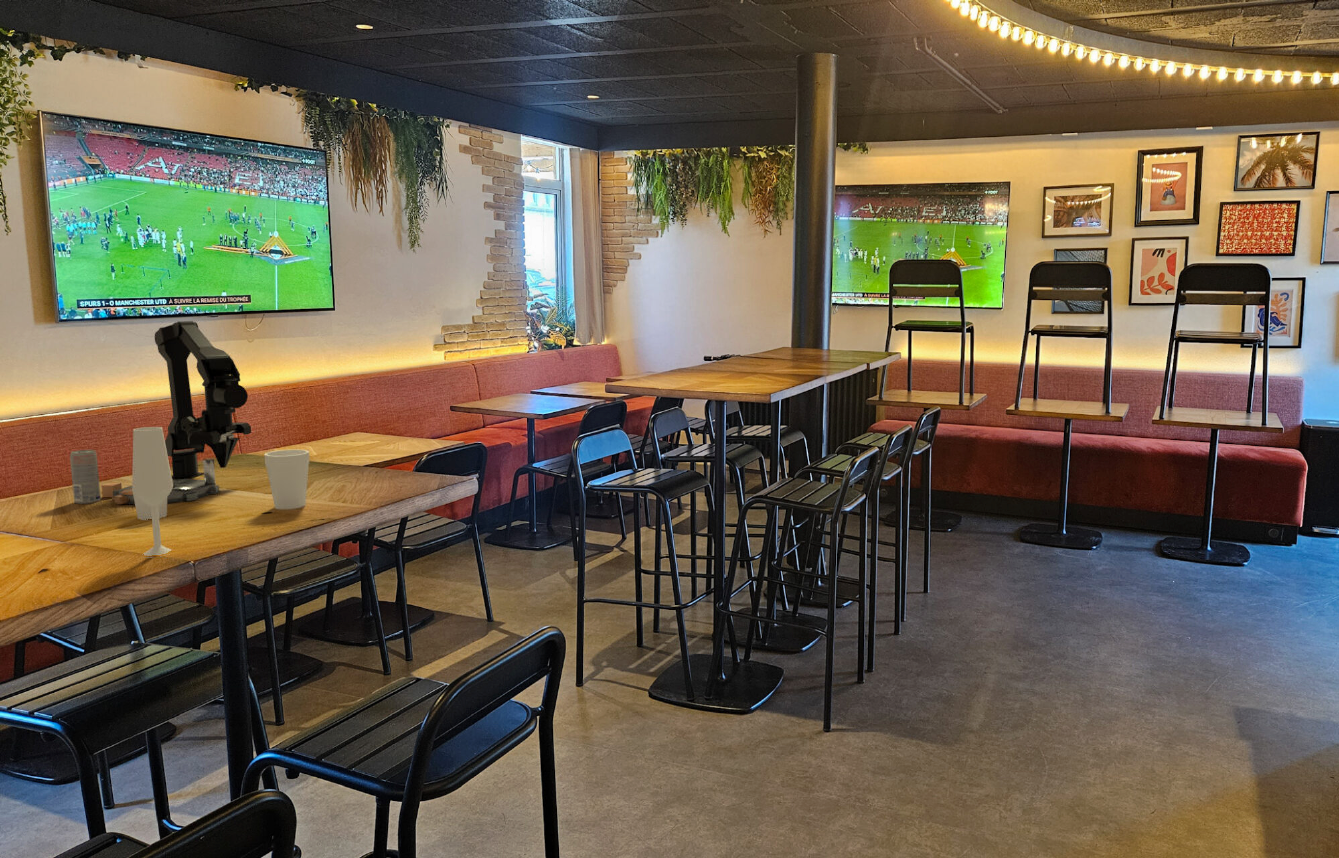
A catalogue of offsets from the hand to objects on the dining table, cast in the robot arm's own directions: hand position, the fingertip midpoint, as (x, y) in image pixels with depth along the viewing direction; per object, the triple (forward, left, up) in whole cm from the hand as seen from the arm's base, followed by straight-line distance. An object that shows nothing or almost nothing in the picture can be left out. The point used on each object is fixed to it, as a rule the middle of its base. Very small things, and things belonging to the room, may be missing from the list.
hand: (223, 467), depth 241 cm
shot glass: (+31, +1, -6) cm, 31 cm away
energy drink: (+16, -25, -6) cm, 30 cm away
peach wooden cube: (+10, -23, -6) cm, 26 cm away
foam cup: (+21, +27, -6) cm, 35 cm away
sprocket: (+10, -9, -6) cm, 14 cm away
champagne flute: (+59, +21, -6) cm, 63 cm away
